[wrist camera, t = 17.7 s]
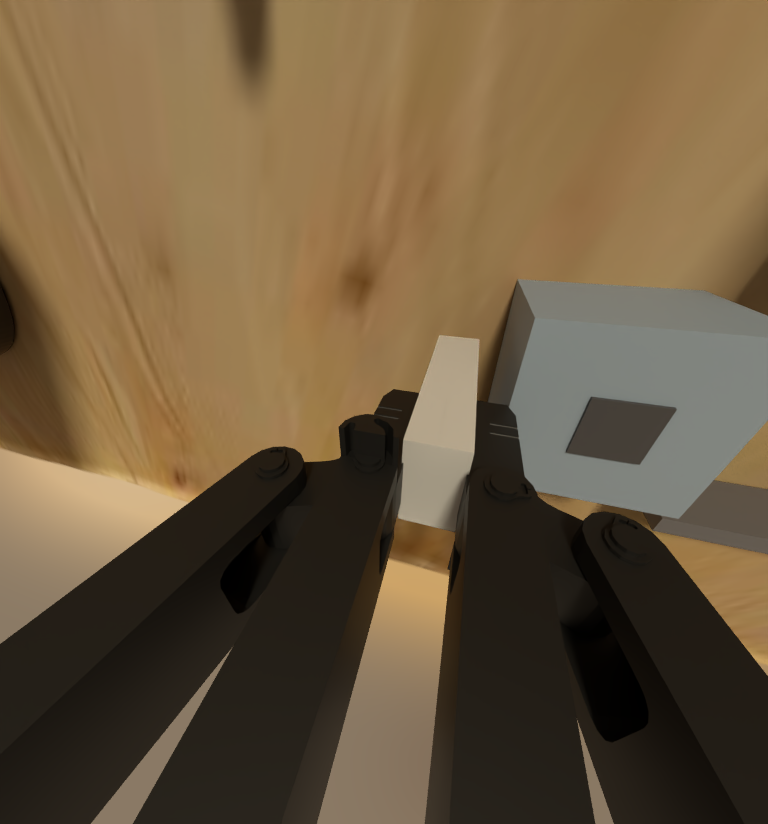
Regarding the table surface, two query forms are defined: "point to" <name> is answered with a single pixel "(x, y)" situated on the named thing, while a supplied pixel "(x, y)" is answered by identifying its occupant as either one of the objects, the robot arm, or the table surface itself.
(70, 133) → the table surface
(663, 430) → the block
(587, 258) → the table surface
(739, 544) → the corral
